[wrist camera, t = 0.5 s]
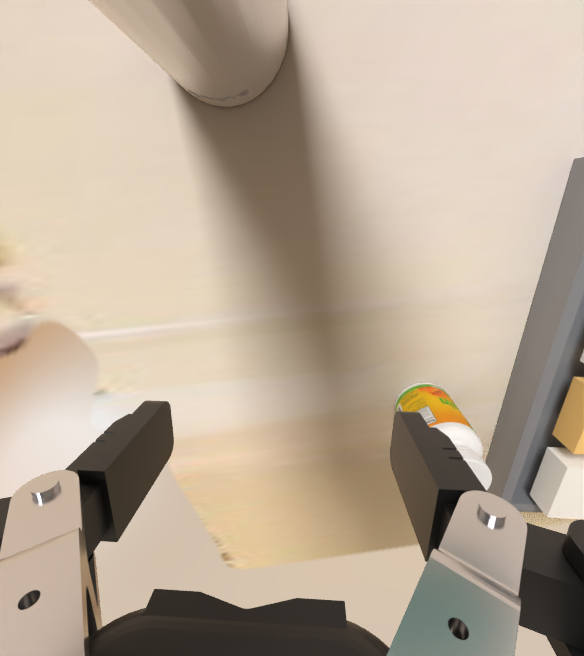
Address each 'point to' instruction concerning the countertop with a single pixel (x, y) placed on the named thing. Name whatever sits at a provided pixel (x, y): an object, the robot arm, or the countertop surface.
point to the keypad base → (544, 358)
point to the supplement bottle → (446, 423)
